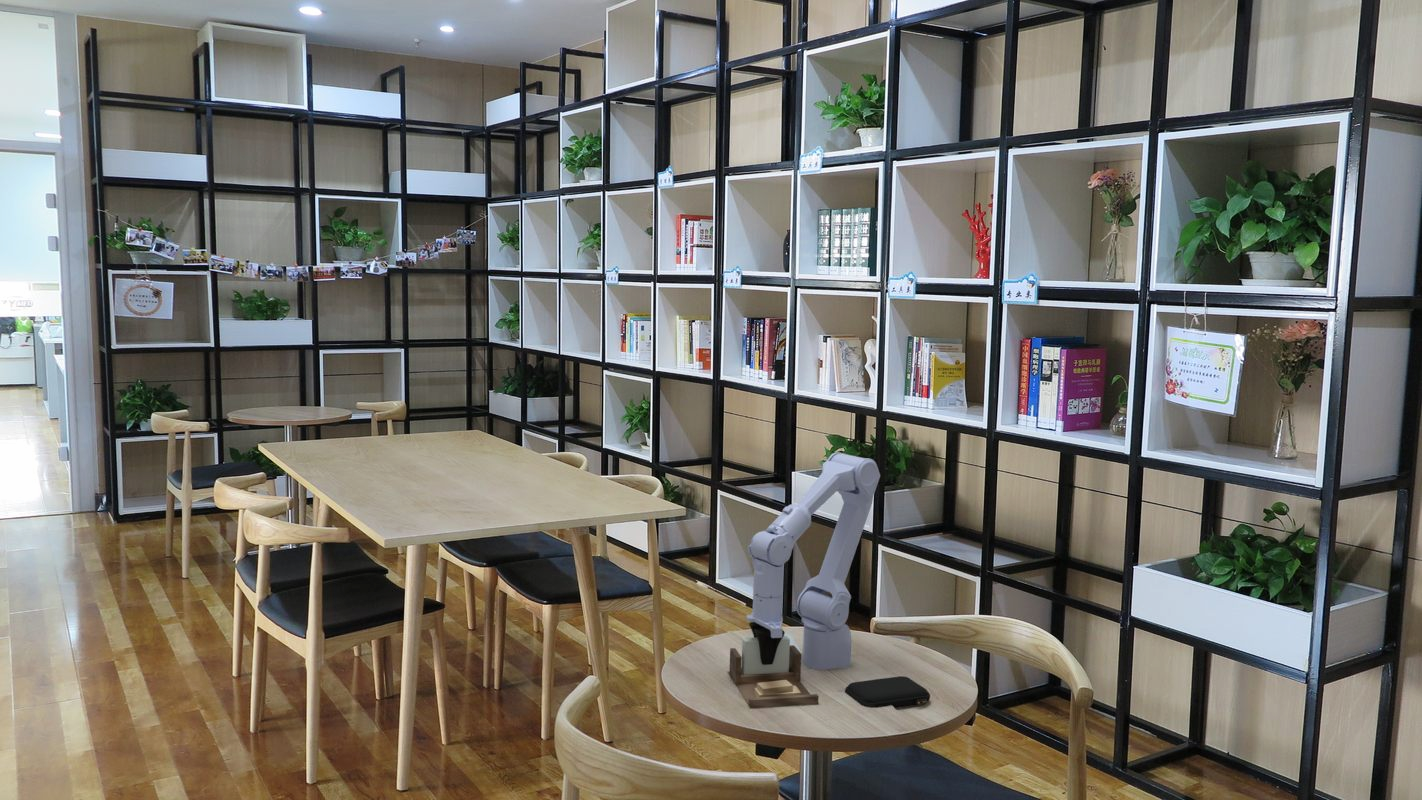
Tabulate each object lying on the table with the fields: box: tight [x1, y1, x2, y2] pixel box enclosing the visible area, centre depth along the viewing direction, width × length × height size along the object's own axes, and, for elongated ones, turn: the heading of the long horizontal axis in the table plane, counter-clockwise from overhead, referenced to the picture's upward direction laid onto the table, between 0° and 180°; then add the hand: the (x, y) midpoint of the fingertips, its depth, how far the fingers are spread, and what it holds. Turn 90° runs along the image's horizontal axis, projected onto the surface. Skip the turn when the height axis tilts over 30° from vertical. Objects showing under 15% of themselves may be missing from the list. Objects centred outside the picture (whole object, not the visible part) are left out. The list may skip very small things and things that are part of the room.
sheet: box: [741, 636, 790, 675], centre depth 208 cm, size 9×2×8 cm, turn 103°
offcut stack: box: [754, 680, 801, 698], centre depth 200 cm, size 8×4×2 cm, turn 103°
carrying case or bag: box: [844, 675, 931, 709], centre depth 202 cm, size 11×3×15 cm
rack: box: [726, 645, 820, 709], centre depth 204 cm, size 13×18×6 cm
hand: (765, 661), depth 208 cm, fingers closed on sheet, 2 cm apart
